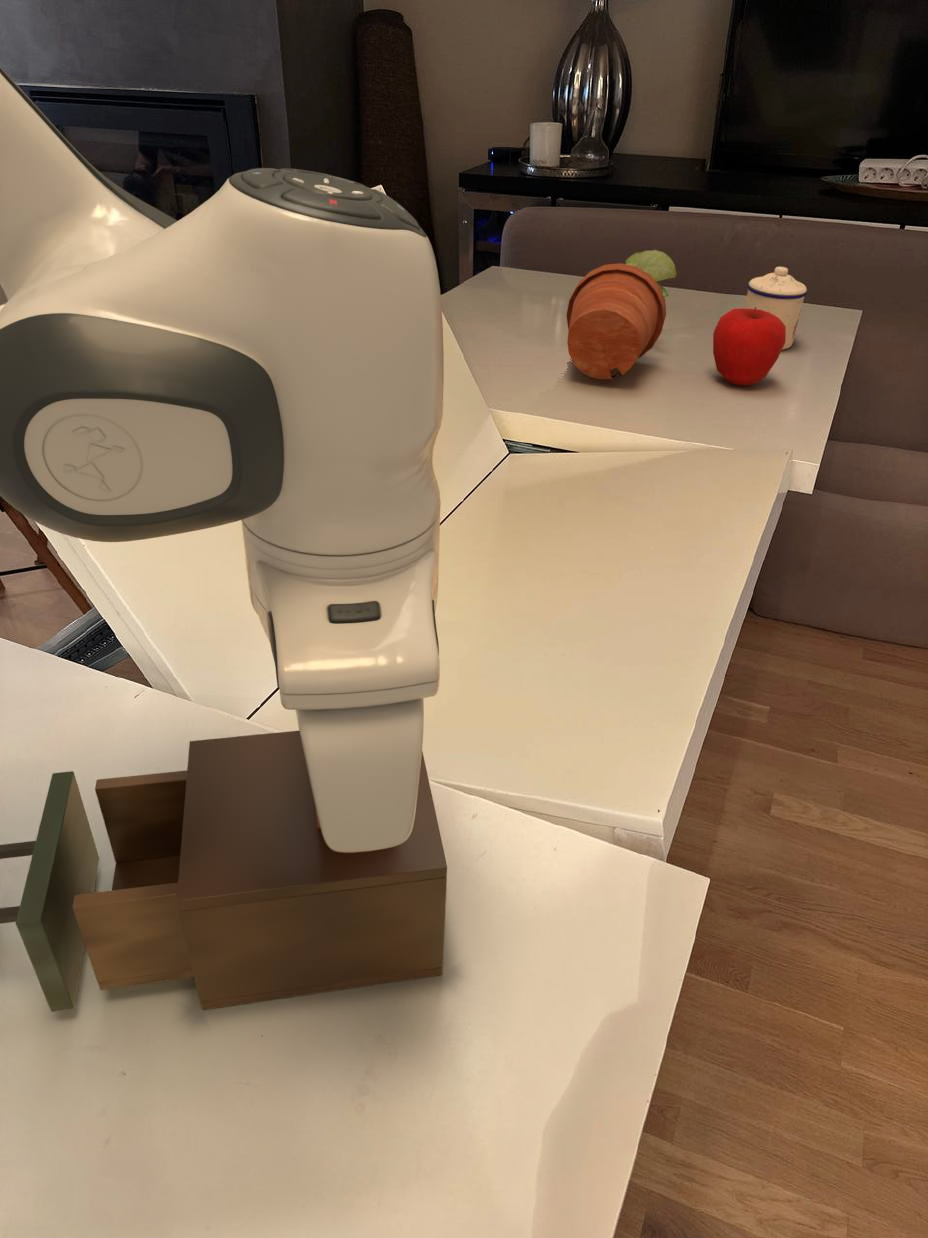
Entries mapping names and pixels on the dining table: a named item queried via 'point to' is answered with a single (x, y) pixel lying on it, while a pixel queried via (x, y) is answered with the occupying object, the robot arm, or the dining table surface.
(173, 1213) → the dining table surface
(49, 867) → the drawer
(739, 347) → the apple
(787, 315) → the teacup with lid
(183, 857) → the cabinet
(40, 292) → the robot arm
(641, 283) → the potted plant
